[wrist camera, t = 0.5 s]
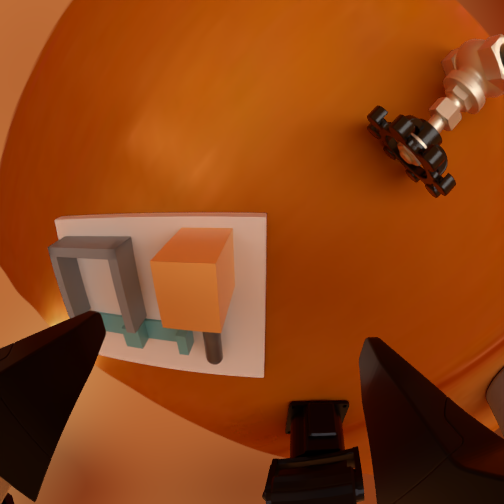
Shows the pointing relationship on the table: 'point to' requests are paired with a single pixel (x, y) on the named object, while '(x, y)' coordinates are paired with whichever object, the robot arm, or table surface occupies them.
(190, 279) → the block
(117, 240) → the end holder
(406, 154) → the valve
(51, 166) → the table surface
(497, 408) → the water bottle
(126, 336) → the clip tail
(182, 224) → the board
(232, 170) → the table surface
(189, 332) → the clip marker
